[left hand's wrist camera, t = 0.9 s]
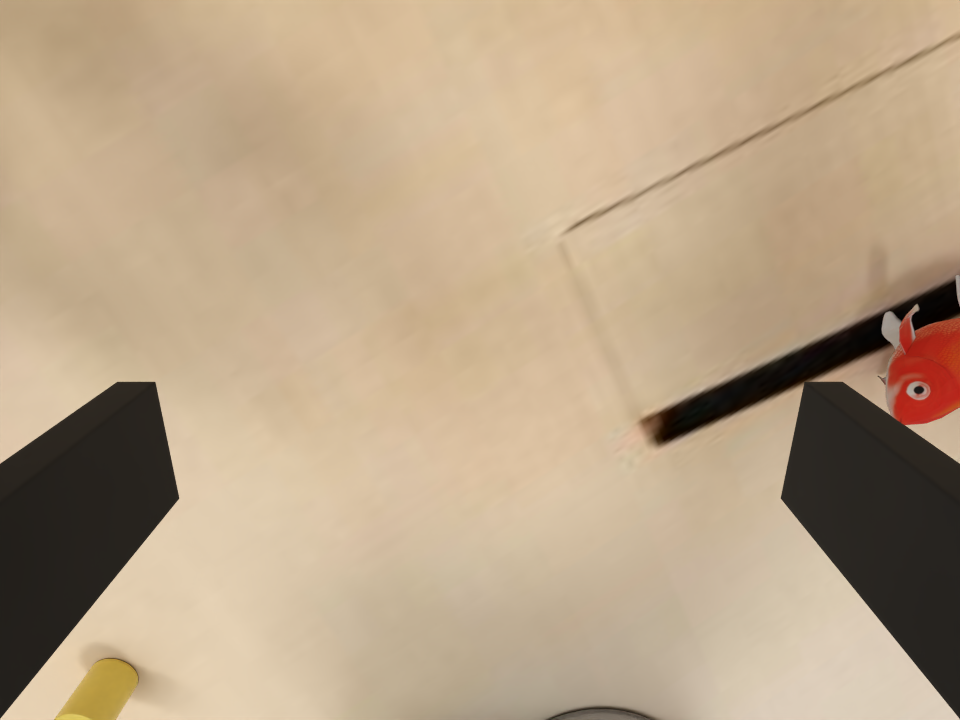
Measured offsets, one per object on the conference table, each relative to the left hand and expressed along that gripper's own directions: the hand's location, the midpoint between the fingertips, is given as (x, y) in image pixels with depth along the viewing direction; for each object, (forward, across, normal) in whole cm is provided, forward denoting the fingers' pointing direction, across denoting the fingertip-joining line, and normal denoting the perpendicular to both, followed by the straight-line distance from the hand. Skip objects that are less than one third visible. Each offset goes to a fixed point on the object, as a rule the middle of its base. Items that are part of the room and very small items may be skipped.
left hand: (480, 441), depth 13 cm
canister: (+25, +29, +34) cm, 51 cm away
